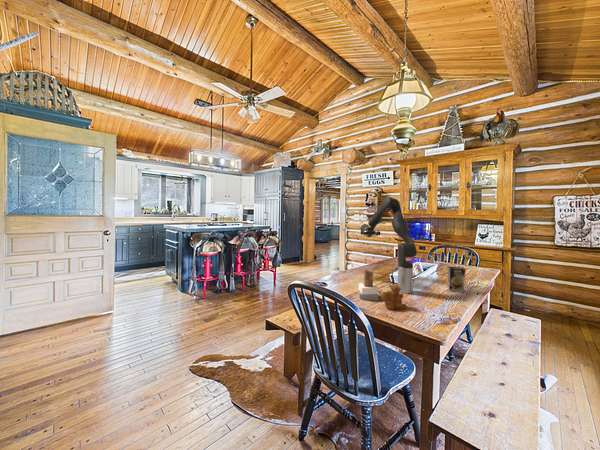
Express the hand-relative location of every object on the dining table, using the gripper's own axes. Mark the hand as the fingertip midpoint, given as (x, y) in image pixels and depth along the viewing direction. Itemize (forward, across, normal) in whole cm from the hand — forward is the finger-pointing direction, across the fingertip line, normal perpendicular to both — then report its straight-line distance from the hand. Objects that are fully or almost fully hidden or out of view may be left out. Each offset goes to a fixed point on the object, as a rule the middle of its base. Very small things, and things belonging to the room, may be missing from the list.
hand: (371, 234), depth 186 cm
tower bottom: (+25, -4, +38) cm, 46 cm away
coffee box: (+1, +58, +38) cm, 69 cm away
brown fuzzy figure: (+40, +9, +38) cm, 56 cm away
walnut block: (+25, -4, +30) cm, 40 cm away
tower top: (+25, -4, +34) cm, 43 cm away
